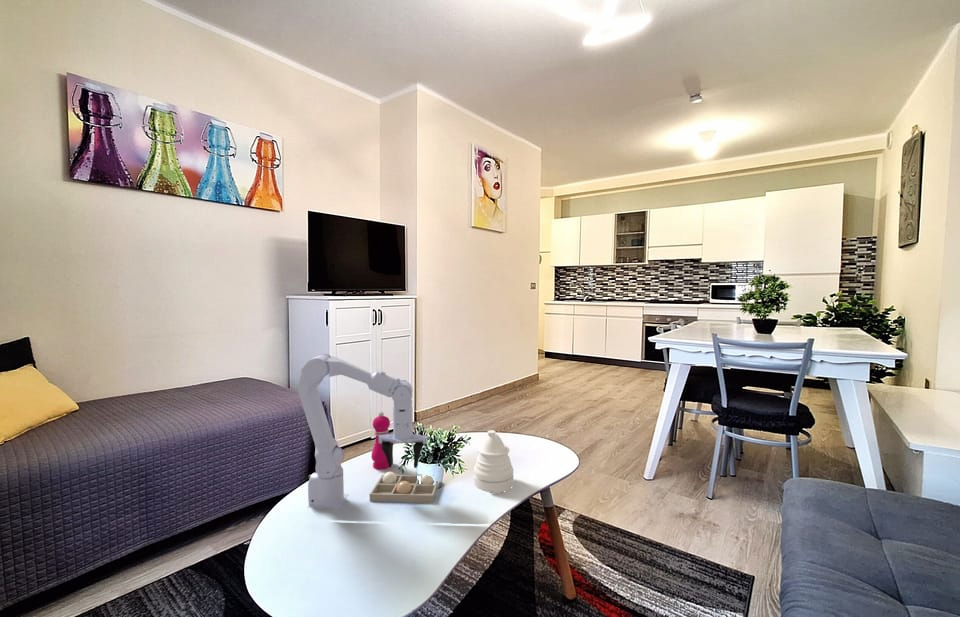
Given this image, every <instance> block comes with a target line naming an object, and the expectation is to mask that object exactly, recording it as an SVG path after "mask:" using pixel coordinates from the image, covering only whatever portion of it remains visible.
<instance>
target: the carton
mask: <svg viewBox="0 0 960 617" xmlns="http://www.w3.org/2000/svg"><path fill="white" fill-rule="evenodd" d="M383 476H384V474H382V475H381V476H380V477H379V479H378V481H377V482H376V483H375V485H374V486H373V488H372V490H371V491H370V493H369V501H370V502H400V503H401V502H403V503H404V502H405V503H434V501H435V497H436V495H437V492H438V488H439V486H438V481H436V484H435V485H422V484H419V480H418V479H417V476H416V474H415V475H414V474H412V475H410V474H396V477H397V480H396V483H395V484H384V483H383ZM402 481H407V482H409V483H410V485H411V492H410V493H409V494H398V493H397V490H396V488H397V485H398V484H399V483H400V482H402Z"/></svg>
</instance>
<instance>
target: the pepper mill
mask: <svg viewBox="0 0 960 617" xmlns="http://www.w3.org/2000/svg"><path fill="white" fill-rule="evenodd" d="M390 426H391V421H390V418H389V417H388V416H386V415H384V412H383V411H380V412H379V413H378V416H376V417H375V418H374V419H373V420H372V428H373V429H374V430H373V432H374V433H373V435H374V436H375V443H374V445H373V448H372V450H371V456H370V457H371V459H372V461H373V462H372V468H373V469H375V470H378V471H379V470H386V469H389V468H390V467H389V465H388V461H387V458H386V456H385V453H384V452H383V450H382V448H381V446H382V443H379V436H380V435H389V427H390Z"/></svg>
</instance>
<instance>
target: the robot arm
mask: <svg viewBox="0 0 960 617" xmlns="http://www.w3.org/2000/svg"><path fill="white" fill-rule="evenodd" d="M386 373H387V372H385V371H383V370H381V371H375V372H373V373H372V372H369V371H368V370H366V369H363V368H362V367H361V368H360V367H359V366H356V365H354V364H352V363H351V362H350V363H349V362H348V361H346V360H344V359H341V358H339V357H337V356H331V355H330V354H328V353H319V354H317V355H316V356H315V357H313V358H310V359H309V360H308V361H306V363H305V364H304V366H303V367H302V368H301V369H300V378H299V381H298V384H297V387H296V388H297V393H298V396H299V400H300V403H301V406H302V408H303V411H304V412H303V413H304V414H305V418H306V421H307V424H308V427H309V428H308V429H309V430H310V433H311V437H312V440H313V442H314V448H315V451H314V457H315V472H313V473H312V474H310V476H309V480H308V484H307V486H308V487H307V489H308V490H307V492H308V494H307V496H308V501H307V502H308V505H307V509H309V508H311V509H312V508H313V509H315V508H318V509H340V507H342V505H343V503H344V502H345V501H346V499H347V498H348V497H349V493H348V494H345V492H344V491H345V490H344V483H345V482H344V468H343V466H342V462H343V461H344V458H345V453H344V450H343V449H342V448H341V446H340V445H339V444H338V442H337V441H338V440H336V439H335V438H334V436H333V434H332V431H331V427H330V424H329V421H328V418H327V415H326V412H325V409H324V405H323V403H322V399H321V396H320V392H319V390H318V388H319V386H320V385H321V383H322V381H323V380H324V379H325V377H326V376H328V378H331V377H336V376H344V377H347V378H350V379H352V380H356V381H358V382H361V383H364V384H366V385H367V387H368V389H369V390H370V391H373V392H375V393H377V394H379V395H383V396H385V397H388V398H391V399H392V401H393V407H392V411H393V412H392V421H393V422H392V424H393V425H392V428H393V433H391V434H389V433H388V435H380V436H379V443H382V446H381V448H382V450H383V452H384V453H385V456H386V458H387V461H388V465H389V468H392V467H393V465H394V456H393V454H394V453H393V452H394V444H414V445H413V447H412V448H413V469H416V468H418V466H419V459H420V455H421V452H422V450H423V446H424V445H427V444H428V435H421V434H416V433H415V434H414V433H413V432H414V431H413V429H414V427H413V406H412V404H413V400H412V398H413V386H412V385H411V383H410V382H408V381H407V380H406V379H401V378H399V377H398V378H394V377H393V376H390V375H387V374H386Z"/></svg>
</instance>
